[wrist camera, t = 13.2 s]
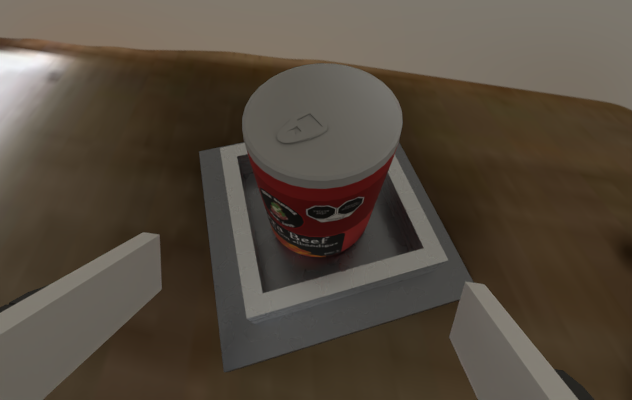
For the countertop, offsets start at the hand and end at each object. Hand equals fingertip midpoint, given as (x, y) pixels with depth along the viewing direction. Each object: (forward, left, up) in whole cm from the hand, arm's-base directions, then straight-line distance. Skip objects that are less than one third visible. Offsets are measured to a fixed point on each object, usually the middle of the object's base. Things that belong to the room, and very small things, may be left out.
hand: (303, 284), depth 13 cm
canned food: (-7, +3, -9) cm, 12 cm away
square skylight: (-7, +3, -10) cm, 13 cm away
